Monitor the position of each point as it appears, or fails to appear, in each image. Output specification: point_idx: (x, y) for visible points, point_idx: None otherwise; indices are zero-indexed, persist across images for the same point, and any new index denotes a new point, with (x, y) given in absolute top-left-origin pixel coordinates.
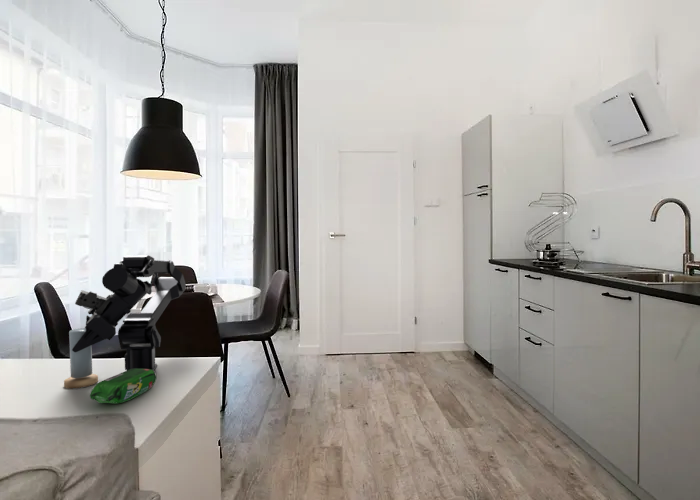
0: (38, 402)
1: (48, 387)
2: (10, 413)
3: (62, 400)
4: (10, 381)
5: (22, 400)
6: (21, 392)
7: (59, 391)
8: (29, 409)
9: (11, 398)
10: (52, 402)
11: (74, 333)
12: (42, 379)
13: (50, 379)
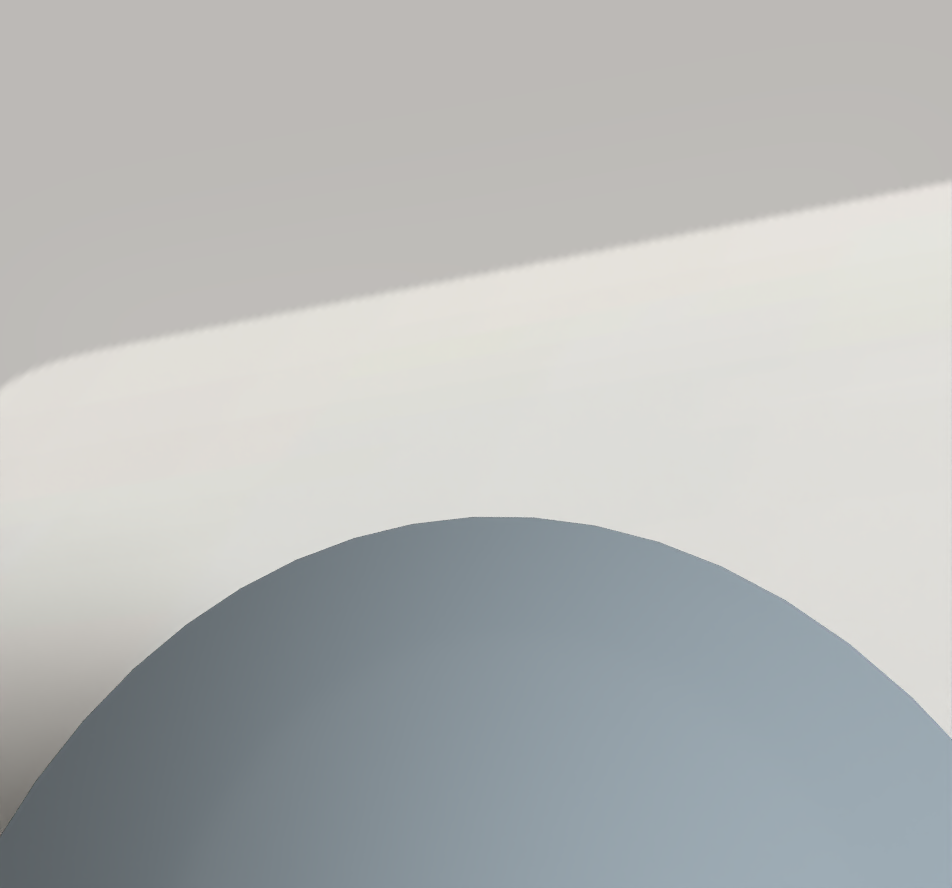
0: (175, 513)
1: None
2: (64, 379)
3: (85, 699)
4: (930, 214)
5: (311, 396)
6: (538, 351)
7: None
8: (52, 478)
9: (414, 318)
10: (93, 620)
11: (69, 782)
12: (904, 442)
13: (876, 514)
